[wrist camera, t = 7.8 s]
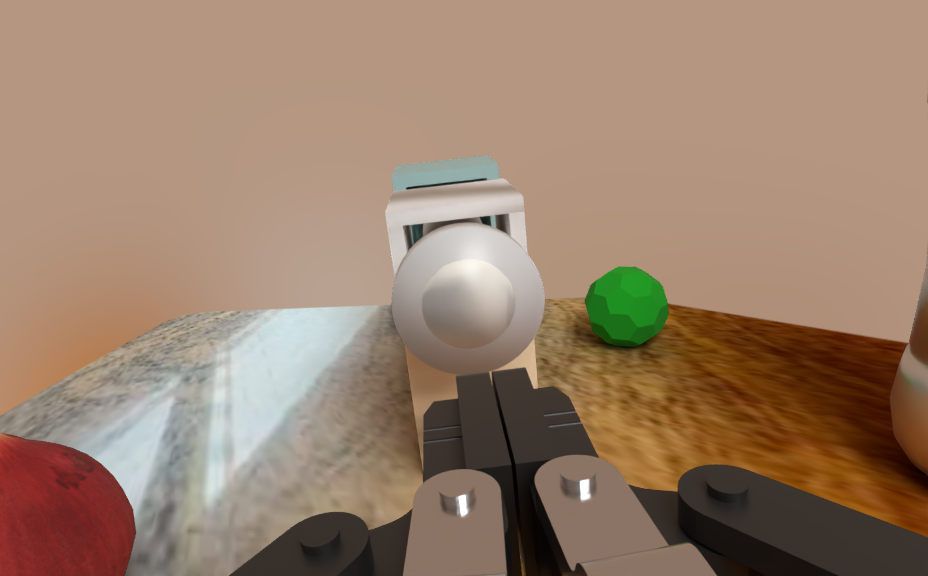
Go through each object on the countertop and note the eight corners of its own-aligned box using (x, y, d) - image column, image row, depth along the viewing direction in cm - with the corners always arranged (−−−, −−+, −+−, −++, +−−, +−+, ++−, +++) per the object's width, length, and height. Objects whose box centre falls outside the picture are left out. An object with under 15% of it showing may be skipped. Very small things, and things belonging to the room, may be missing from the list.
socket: (515, 359, 38) (497, 164, 34) (419, 371, 37) (391, 176, 34) (503, 325, 43) (487, 155, 40) (420, 335, 43) (396, 165, 40)
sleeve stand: (543, 458, 27) (523, 196, 24) (423, 474, 27) (385, 212, 24) (522, 396, 33) (504, 178, 29) (423, 409, 33) (393, 191, 29)
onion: (86, 559, 24) (20, 375, 22) (196, 589, 22) (135, 388, 19) (-86, 691, 19) (-197, 470, 16) (34, 749, 17) (-75, 502, 14)
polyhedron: (643, 323, 41) (642, 255, 40) (684, 349, 37) (684, 273, 35) (574, 336, 40) (571, 267, 39) (607, 364, 36) (604, 287, 34)
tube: (549, 365, 21) (539, 220, 20) (402, 383, 21) (380, 239, 20) (494, 249, 39) (486, 166, 37) (413, 258, 38) (401, 176, 37)
